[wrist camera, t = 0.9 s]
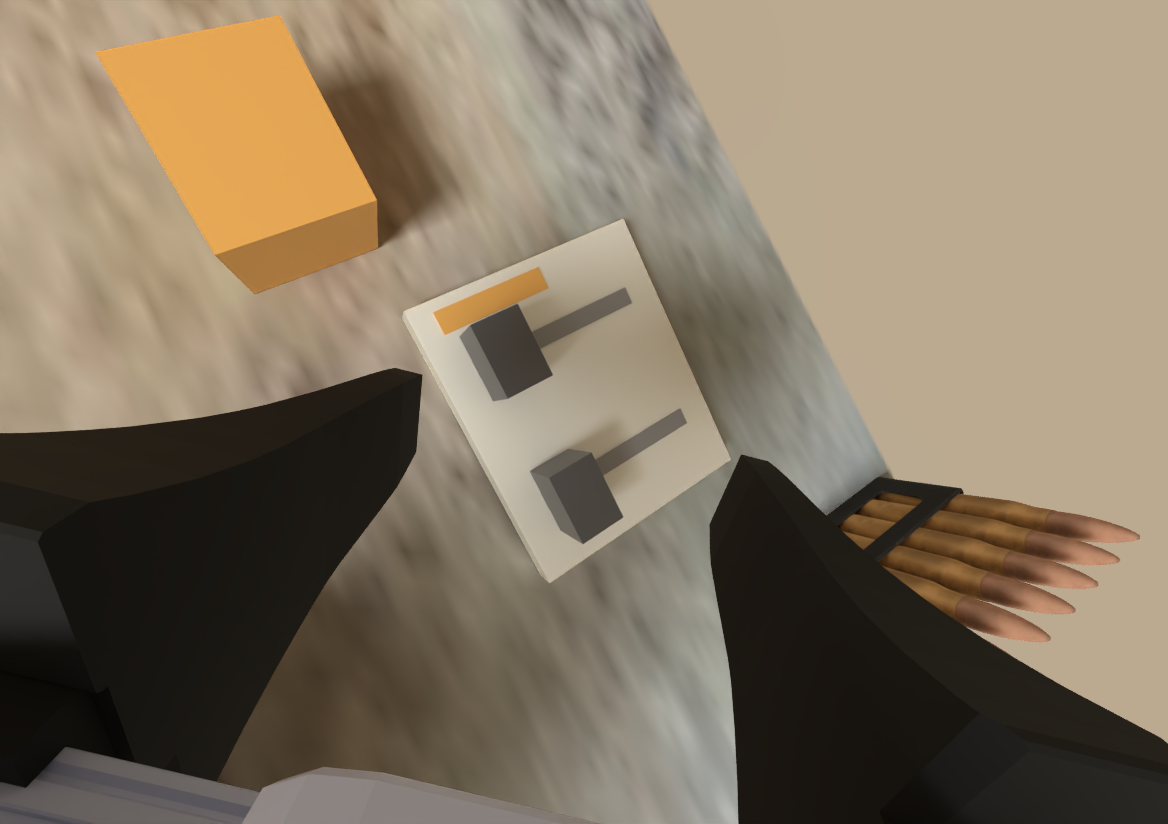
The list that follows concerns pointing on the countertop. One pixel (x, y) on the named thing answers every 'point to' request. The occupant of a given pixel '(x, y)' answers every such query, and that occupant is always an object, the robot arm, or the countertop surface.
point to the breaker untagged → (577, 494)
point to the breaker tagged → (505, 353)
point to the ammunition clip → (977, 551)
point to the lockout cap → (249, 148)
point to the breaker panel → (576, 388)
